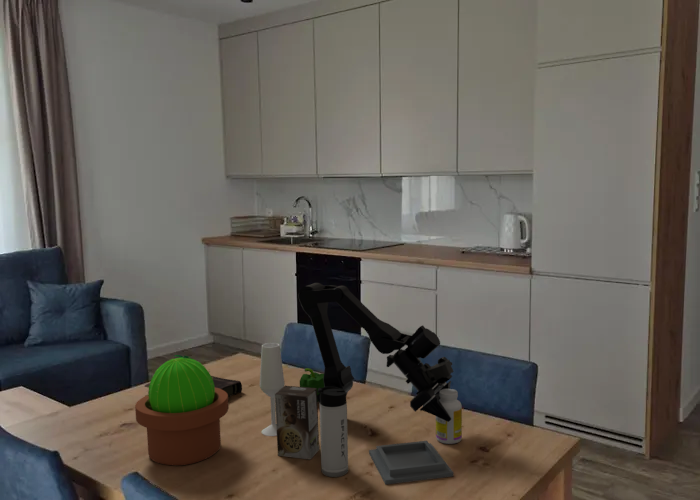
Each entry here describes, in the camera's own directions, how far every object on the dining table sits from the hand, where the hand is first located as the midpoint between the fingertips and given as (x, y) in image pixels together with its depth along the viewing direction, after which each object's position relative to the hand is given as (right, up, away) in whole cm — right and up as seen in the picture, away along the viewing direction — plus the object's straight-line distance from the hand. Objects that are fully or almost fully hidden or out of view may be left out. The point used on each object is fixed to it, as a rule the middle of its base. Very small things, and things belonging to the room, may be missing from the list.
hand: (453, 415), depth 160 cm
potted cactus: (-69, -9, -2) cm, 69 cm away
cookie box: (-40, -8, -4) cm, 41 cm away
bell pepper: (-38, -4, +33) cm, 50 cm away
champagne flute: (-47, -7, +10) cm, 49 cm away
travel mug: (-30, -9, -14) cm, 35 cm away
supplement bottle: (-1, -7, +1) cm, 7 cm away
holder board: (-13, -8, -12) cm, 19 cm away
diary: (-77, -5, +39) cm, 87 cm away
